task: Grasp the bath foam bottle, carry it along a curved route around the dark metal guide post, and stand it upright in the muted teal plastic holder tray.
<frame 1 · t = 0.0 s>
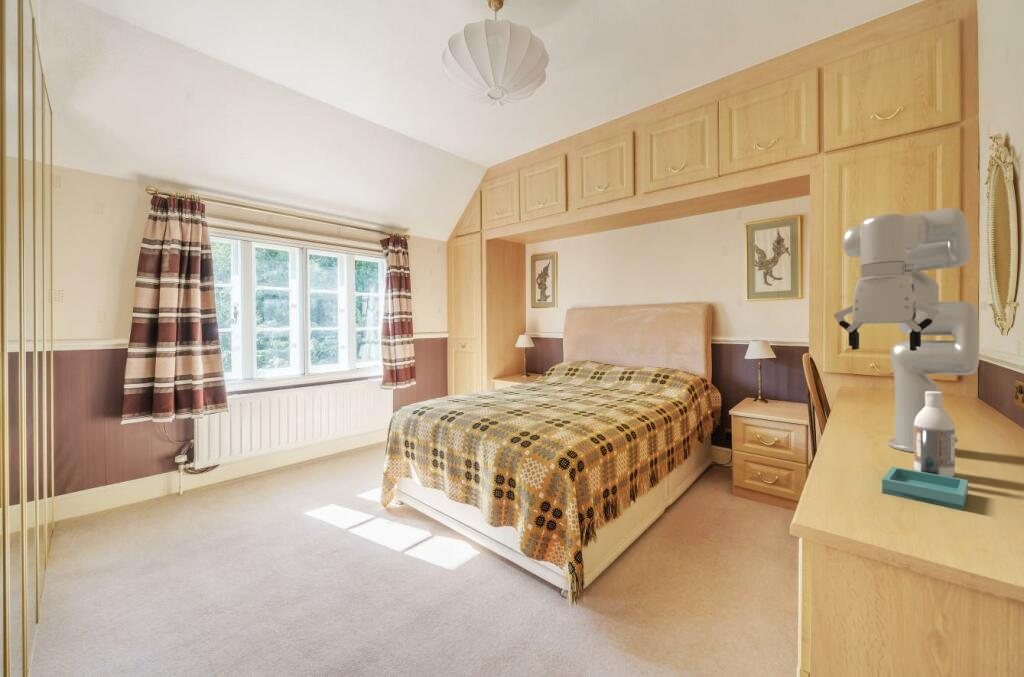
hand: (883, 349, 91), 31 cm above the table, tool pointing down, fingers open, 9 cm apart
bath foam: (933, 474, 100), on the table
guide post: (929, 481, 95), on the table
holder tray: (924, 493, 89), on the table
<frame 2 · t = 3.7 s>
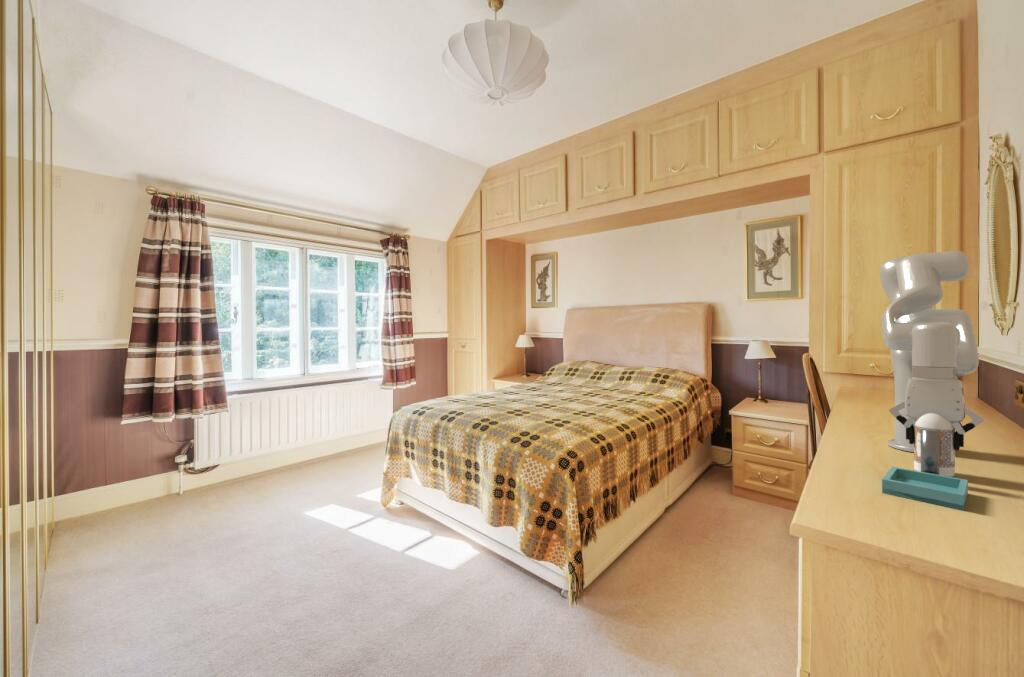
hand: (933, 445, 100), 7 cm above the table, tool pointing down, fingers closed on bath foam, 7 cm apart
bath foam: (933, 473, 100), on the table, touching gripper
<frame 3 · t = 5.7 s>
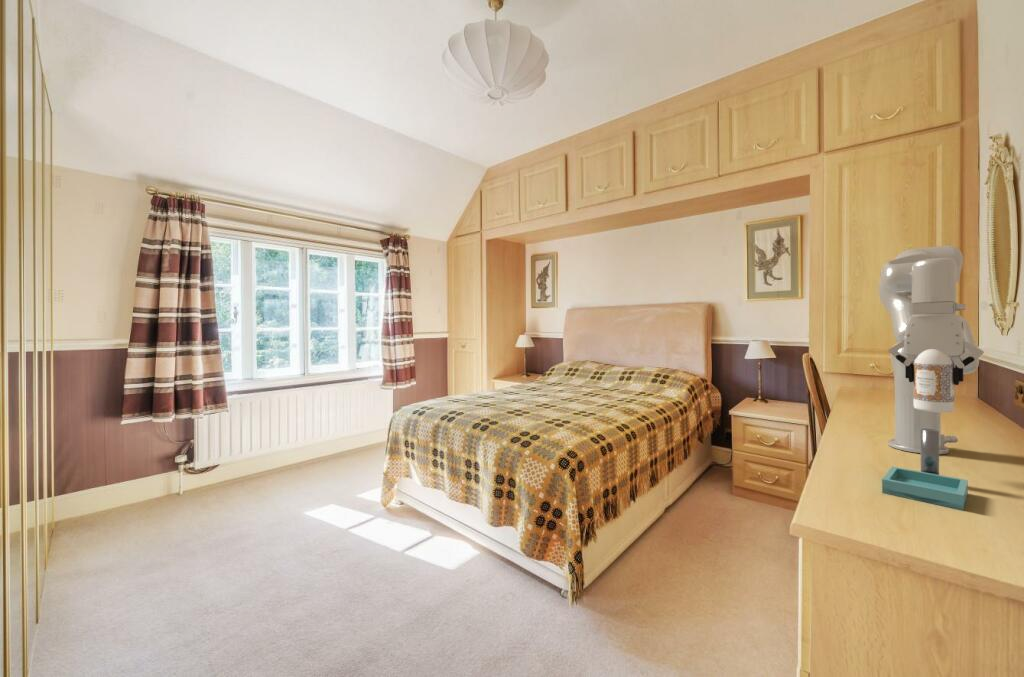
hand: (933, 382, 100), 22 cm above the table, tool pointing down, fingers closed on bath foam, 7 cm apart
bath foam: (933, 410, 100), point 15 cm above the table, touching gripper
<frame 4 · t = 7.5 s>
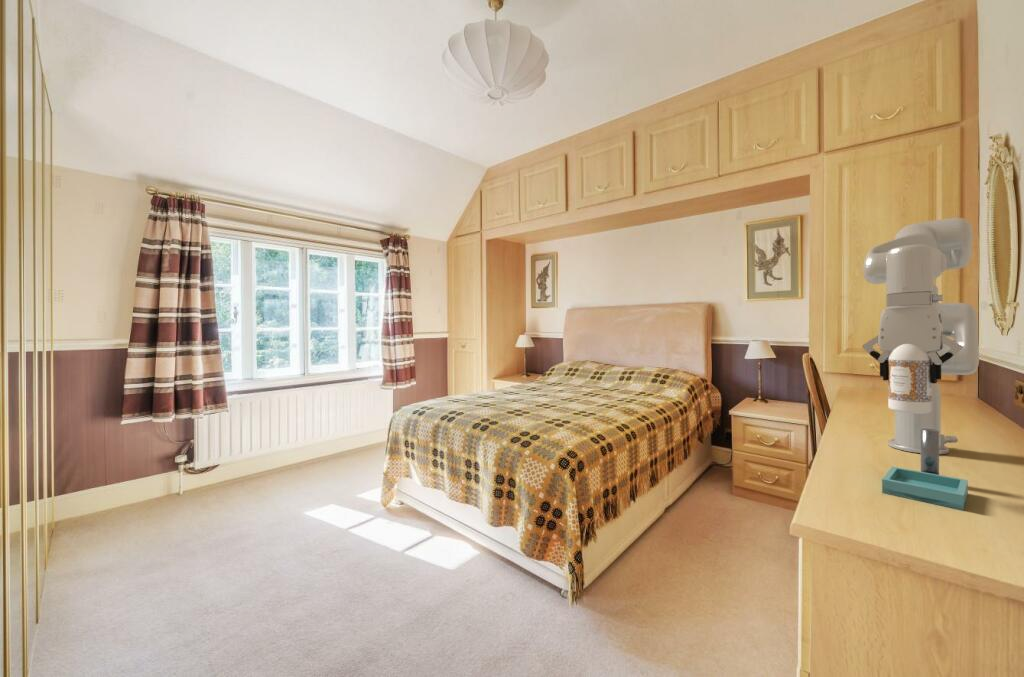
hand: (909, 380, 91), 24 cm above the table, tool pointing down, fingers closed on bath foam, 7 cm apart
bath foam: (909, 411, 91), point 17 cm above the table, touching gripper
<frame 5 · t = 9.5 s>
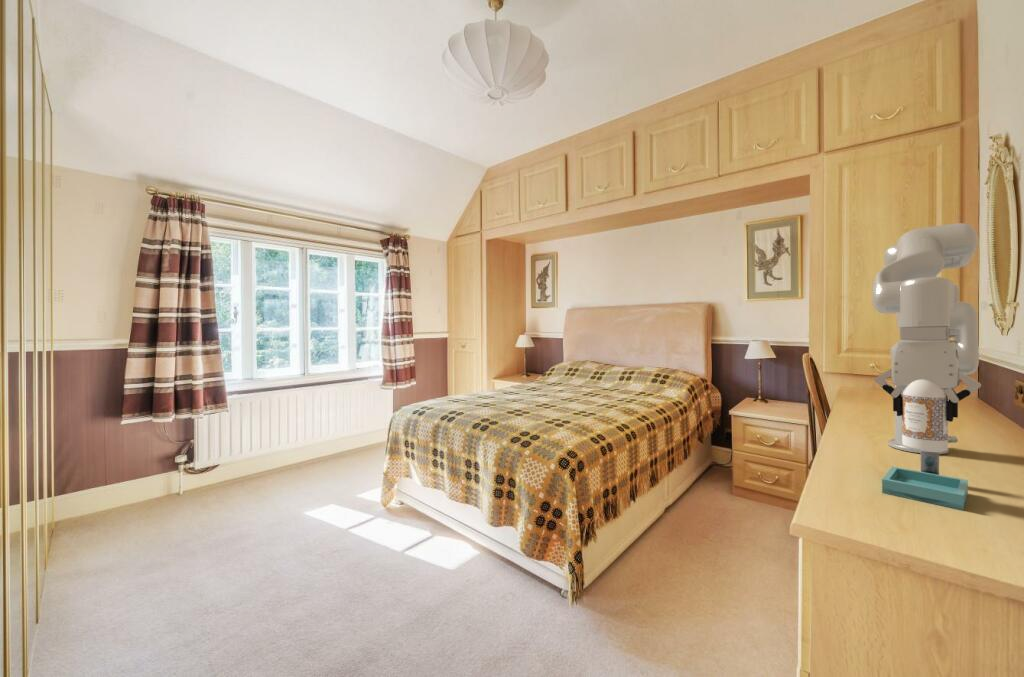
hand: (924, 417, 88), 17 cm above the table, tool pointing down, fingers closed on bath foam, 7 cm apart
bath foam: (924, 449, 88), point 10 cm above the table, touching gripper
when the fingers open (9 cm above the table, at t = 11.4 s): bath foam drops 1 cm, resting on holder tray.
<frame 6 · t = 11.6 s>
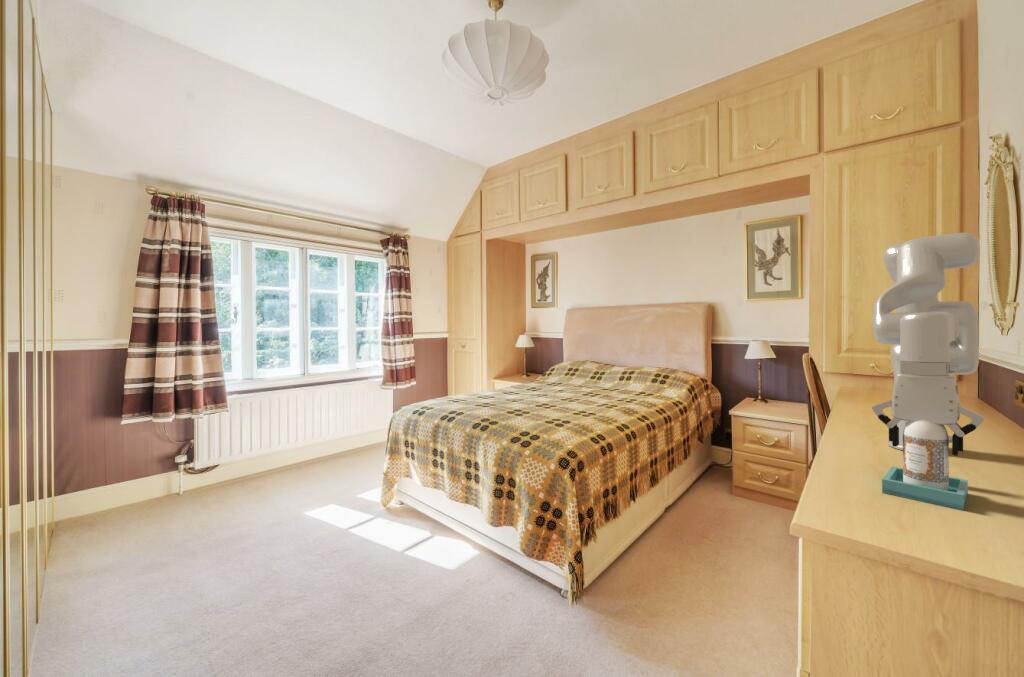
hand: (924, 449, 88), 10 cm above the table, tool pointing down, fingers open, 8 cm apart
bath foam: (925, 489, 89), point 1 cm above the table, touching holder tray
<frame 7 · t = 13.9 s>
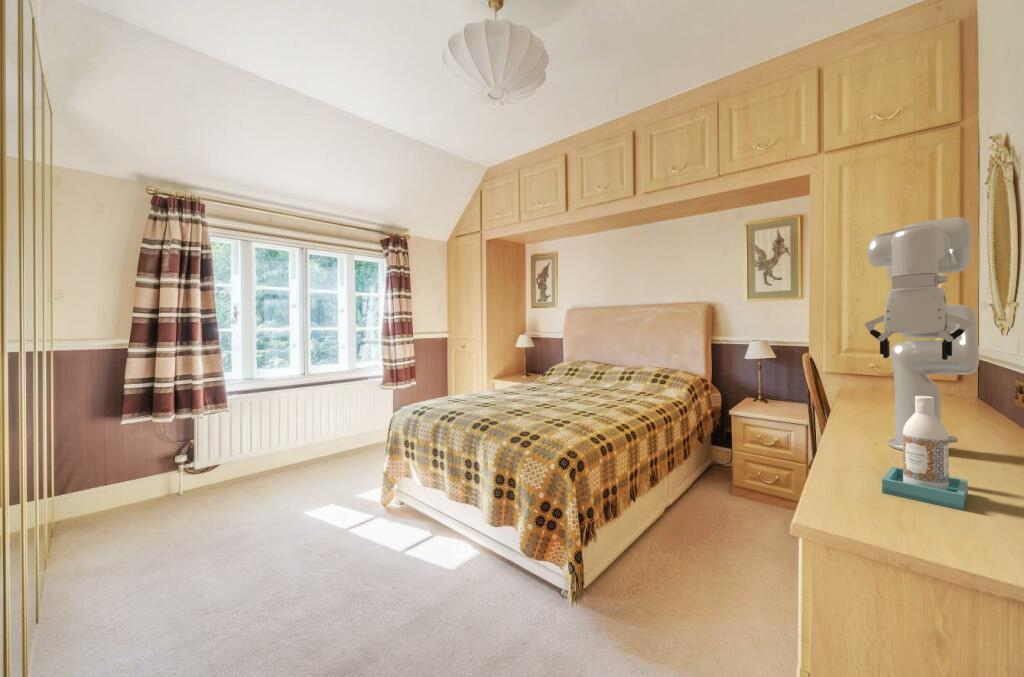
hand: (914, 358, 94), 29 cm above the table, tool pointing down, fingers open, 9 cm apart
nothing on the table moved.
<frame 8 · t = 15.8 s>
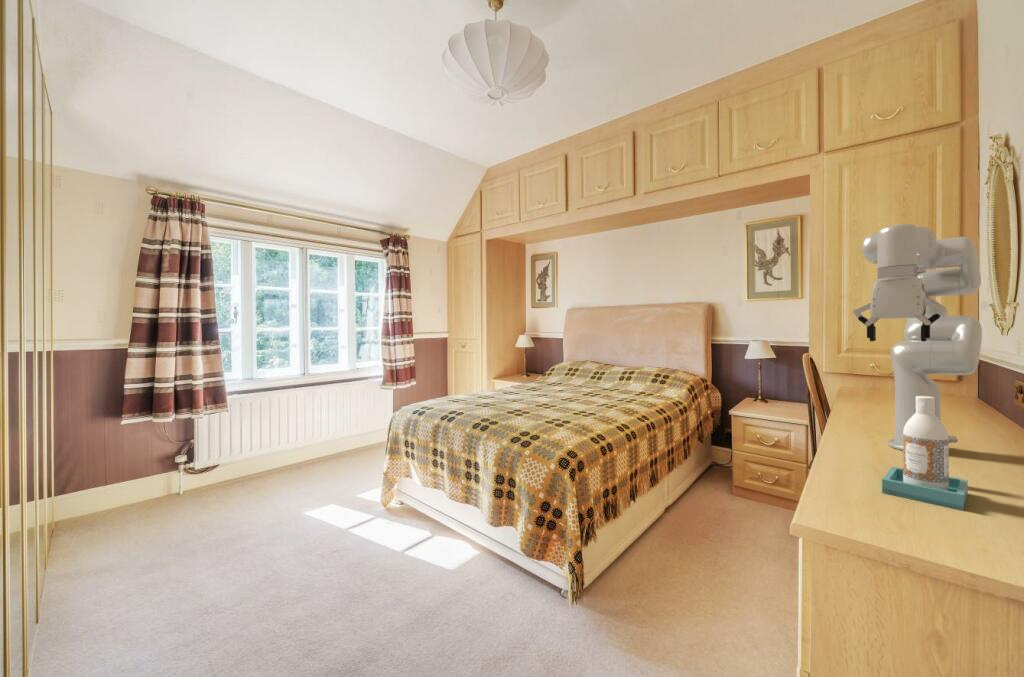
hand: (897, 341, 105), 32 cm above the table, tool pointing down, fingers open, 9 cm apart
nothing on the table moved.
at the end: bath foam 0.2 cm off-centre on the holder tray, point 0.8 cm above the holder tray's base; bath foam tilted 0°; the gripper is holding nothing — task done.
